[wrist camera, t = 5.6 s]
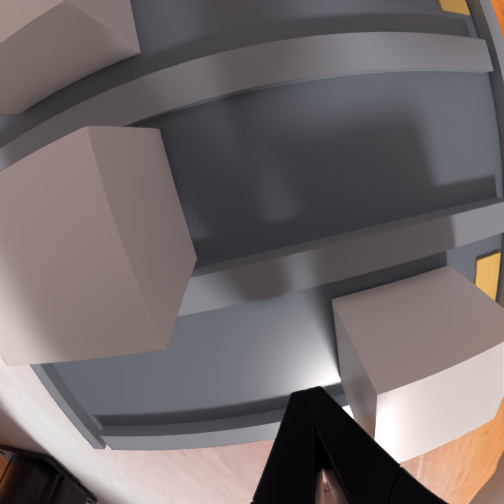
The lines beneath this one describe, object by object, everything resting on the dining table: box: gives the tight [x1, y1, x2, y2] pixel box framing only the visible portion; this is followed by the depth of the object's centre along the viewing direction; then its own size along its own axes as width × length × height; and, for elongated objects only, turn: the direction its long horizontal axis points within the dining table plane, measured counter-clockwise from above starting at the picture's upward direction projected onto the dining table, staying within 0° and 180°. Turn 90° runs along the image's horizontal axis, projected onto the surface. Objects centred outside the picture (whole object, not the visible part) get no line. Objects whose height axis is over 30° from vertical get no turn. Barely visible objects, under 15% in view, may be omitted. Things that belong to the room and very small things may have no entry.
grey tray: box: [0, 0, 504, 450], centre depth 8 cm, size 18×18×2 cm
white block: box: [331, 265, 504, 463], centre depth 7 cm, size 4×3×4 cm
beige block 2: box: [0, 126, 197, 365], centre depth 6 cm, size 4×3×4 cm
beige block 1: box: [0, 0, 141, 114], centre depth 4 cm, size 4×3×4 cm
